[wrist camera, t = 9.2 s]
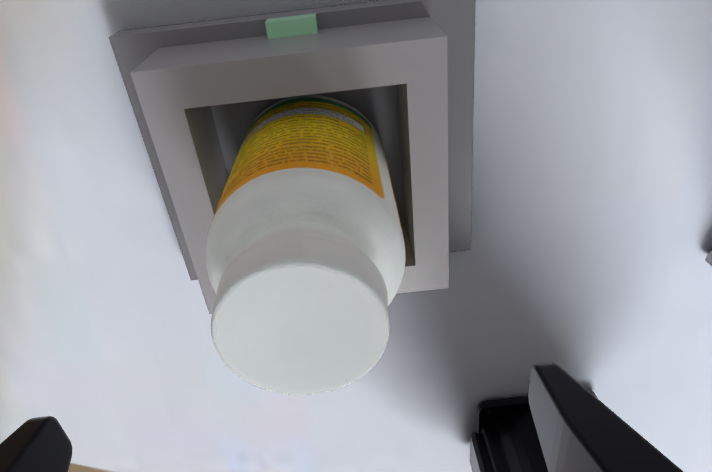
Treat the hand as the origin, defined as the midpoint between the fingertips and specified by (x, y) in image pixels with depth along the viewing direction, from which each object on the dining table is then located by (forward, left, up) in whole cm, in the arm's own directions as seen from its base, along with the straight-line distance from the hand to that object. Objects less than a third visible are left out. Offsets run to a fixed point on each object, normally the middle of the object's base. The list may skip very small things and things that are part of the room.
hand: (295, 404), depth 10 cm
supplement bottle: (0, 0, -12) cm, 12 cm away
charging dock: (0, 0, -13) cm, 13 cm away
